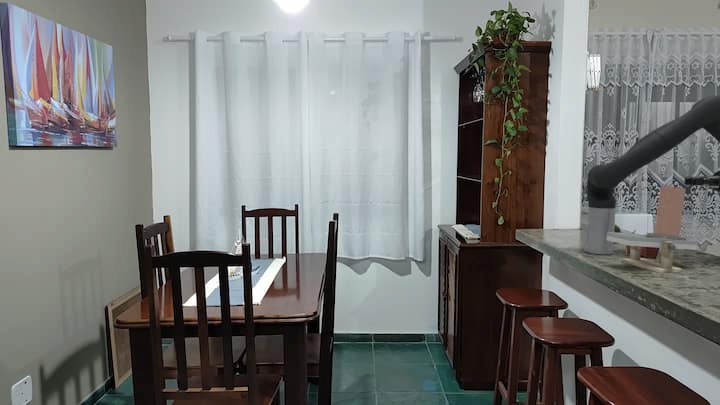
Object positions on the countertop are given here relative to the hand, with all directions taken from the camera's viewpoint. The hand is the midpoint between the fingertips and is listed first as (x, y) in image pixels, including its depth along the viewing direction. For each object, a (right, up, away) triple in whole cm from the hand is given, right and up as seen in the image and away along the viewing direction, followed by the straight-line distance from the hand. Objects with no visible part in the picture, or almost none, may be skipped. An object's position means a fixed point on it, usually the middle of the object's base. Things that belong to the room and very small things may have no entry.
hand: (689, 181), depth 165 cm
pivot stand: (-14, -28, -1) cm, 31 cm away
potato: (-4, -24, +47) cm, 53 cm away
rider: (-8, -20, 0) cm, 21 cm away
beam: (-14, -20, -2) cm, 24 cm away
